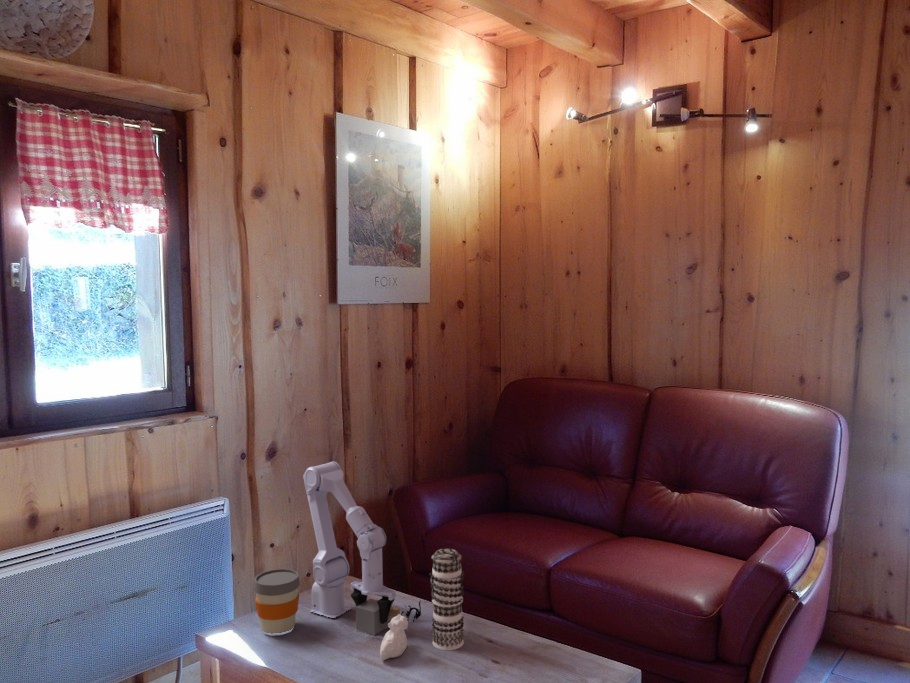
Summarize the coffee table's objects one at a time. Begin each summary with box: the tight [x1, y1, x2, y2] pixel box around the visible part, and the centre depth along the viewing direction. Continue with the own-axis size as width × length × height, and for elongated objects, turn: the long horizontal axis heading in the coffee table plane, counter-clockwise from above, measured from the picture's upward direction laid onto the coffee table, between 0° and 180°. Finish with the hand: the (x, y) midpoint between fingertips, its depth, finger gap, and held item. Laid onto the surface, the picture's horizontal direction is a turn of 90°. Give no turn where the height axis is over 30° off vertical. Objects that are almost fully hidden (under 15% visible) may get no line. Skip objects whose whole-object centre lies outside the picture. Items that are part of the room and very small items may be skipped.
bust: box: [379, 613, 409, 661], centre depth 183 cm, size 12×8×11 cm
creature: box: [400, 599, 422, 624], centre depth 203 cm, size 8×5×8 cm
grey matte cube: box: [355, 598, 390, 636], centre depth 198 cm, size 6×6×7 cm
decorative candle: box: [429, 547, 465, 651], centre depth 188 cm, size 9×9×25 cm
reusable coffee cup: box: [253, 568, 301, 634], centre depth 198 cm, size 13×13×15 cm
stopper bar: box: [389, 606, 401, 618], centre depth 206 cm, size 8×1×2 cm, turn 59°
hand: (373, 619), depth 198 cm, fingers open, 7 cm apart
